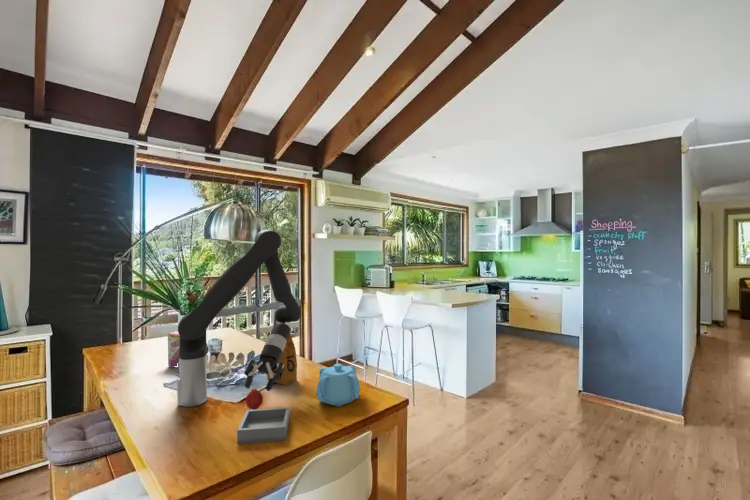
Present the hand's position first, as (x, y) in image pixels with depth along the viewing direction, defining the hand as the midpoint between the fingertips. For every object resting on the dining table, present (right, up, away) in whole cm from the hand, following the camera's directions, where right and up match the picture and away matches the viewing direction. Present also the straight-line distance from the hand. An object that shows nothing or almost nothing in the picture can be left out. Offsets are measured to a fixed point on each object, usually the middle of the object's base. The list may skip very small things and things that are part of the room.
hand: (257, 388), depth 137 cm
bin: (+8, -7, -17) cm, 20 cm away
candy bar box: (-52, -7, +48) cm, 71 cm away
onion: (0, -7, -2) cm, 7 cm away
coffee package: (+3, -7, +27) cm, 28 cm away
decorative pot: (+29, -7, +7) cm, 30 cm away
